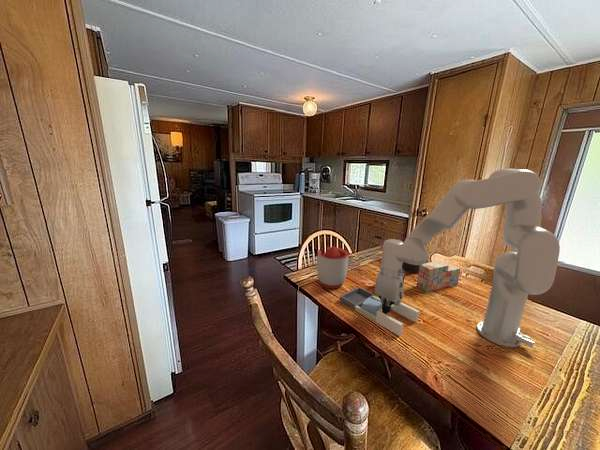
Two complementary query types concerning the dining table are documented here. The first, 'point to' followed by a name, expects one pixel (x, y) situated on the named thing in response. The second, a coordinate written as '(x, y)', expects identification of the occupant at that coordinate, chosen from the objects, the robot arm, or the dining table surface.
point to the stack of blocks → (437, 276)
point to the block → (372, 305)
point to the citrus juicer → (332, 267)
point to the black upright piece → (411, 267)
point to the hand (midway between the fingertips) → (385, 312)
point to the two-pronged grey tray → (360, 295)
